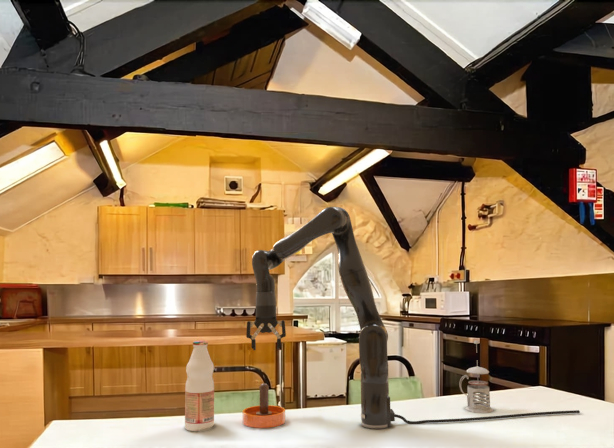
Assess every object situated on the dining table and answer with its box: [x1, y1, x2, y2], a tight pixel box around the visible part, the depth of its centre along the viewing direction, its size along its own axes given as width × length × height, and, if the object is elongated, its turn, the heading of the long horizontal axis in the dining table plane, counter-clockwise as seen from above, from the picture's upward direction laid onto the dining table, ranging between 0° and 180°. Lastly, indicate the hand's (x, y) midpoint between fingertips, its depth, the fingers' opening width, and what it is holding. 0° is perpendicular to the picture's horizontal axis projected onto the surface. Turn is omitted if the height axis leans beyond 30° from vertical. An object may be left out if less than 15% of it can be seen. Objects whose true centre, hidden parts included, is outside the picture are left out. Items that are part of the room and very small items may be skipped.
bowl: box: [241, 404, 286, 429], centre depth 177 cm, size 14×14×4 cm
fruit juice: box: [184, 339, 215, 432], centre depth 175 cm, size 9×9×28 cm
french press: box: [458, 339, 494, 414], centre depth 195 cm, size 10×12×25 cm
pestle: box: [256, 382, 272, 416], centre depth 177 cm, size 5×5×13 cm
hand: (266, 349), depth 191 cm, fingers open, 8 cm apart
